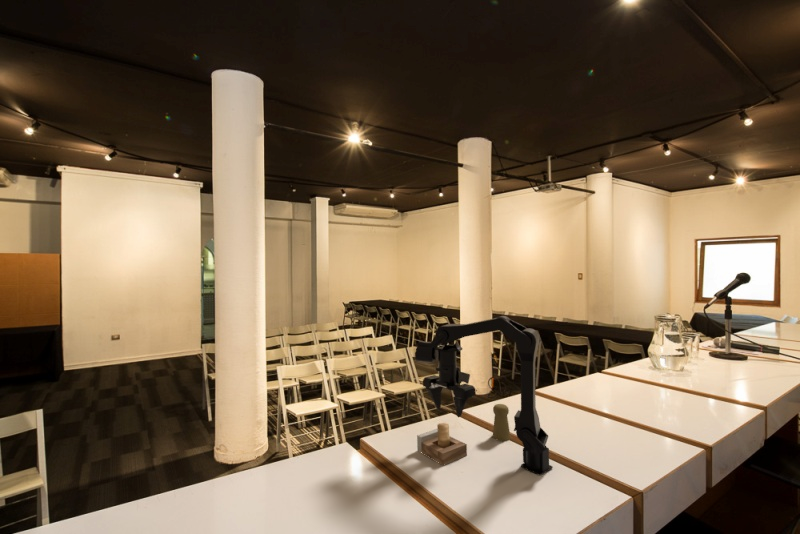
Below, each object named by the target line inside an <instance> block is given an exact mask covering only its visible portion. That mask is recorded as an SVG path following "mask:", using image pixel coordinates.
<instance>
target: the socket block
mask: <svg viewBox="0 0 800 534" xmlns="http://www.w3.org/2000/svg"><path fill="white" fill-rule="evenodd" d="M449 441H450V446H449V447H446V448H444V449H443V448H441V447H439V446H438V436H437V437H435V438H432V439H429V440H426V441H423V442H421V452H422V453H423V454H422V453H421V454H422V455H424V454H425V455H427V456H429V457H430V458H429V457H428V458H429V459H431V458H432V459H434V460H435V461H434V460H433V461H434V462H436V461H437V463H438V462H439V463H438V464H440V465H441V464H442V465H441V466H445V465H448V464H450V463H452V461H453V462H454V460H455V461H457V460H460V459H462V458H465V457H466V456H467V455H468V447H467V443H466V442H463V441H460V440H458V439H456V438H454V437H452V436H450V435H449ZM425 455H424V456H425ZM427 456H426V457H427ZM464 456H465V457H464ZM461 457H462V458H461ZM459 458H460V459H459ZM432 459H431V460H432ZM456 459H457V460H456ZM447 463H448V464H447ZM444 464H445V465H444Z"/></svg>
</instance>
